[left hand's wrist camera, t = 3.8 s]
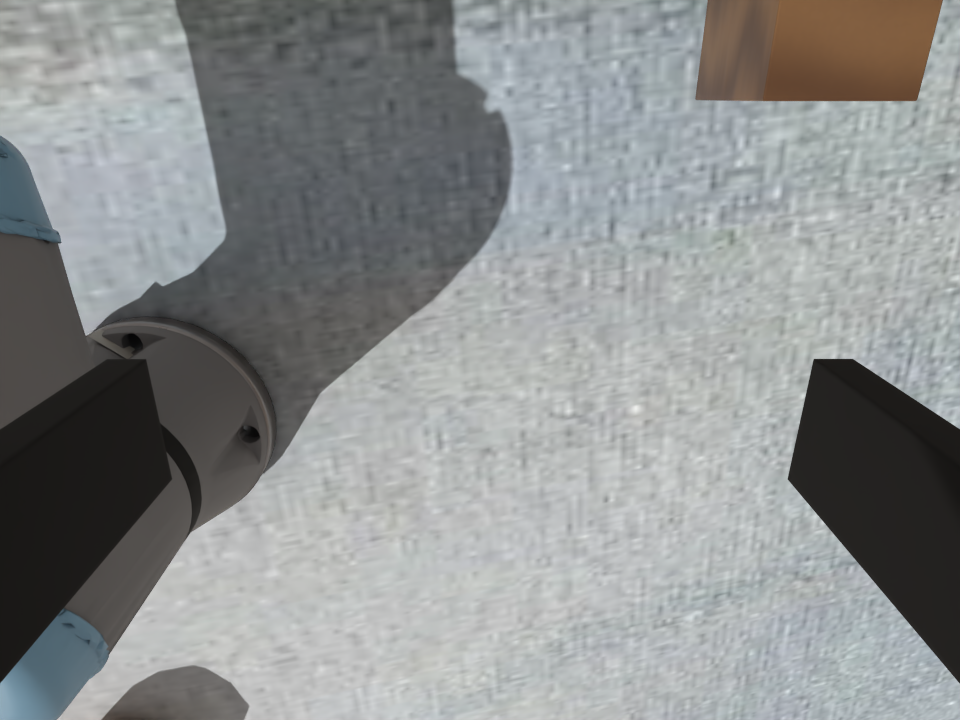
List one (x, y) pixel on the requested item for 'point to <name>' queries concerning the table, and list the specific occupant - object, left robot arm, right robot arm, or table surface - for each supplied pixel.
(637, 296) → the table surface
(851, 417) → the left robot arm
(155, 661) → the table surface
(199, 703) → the table surface
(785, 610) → the table surface
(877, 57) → the bar
